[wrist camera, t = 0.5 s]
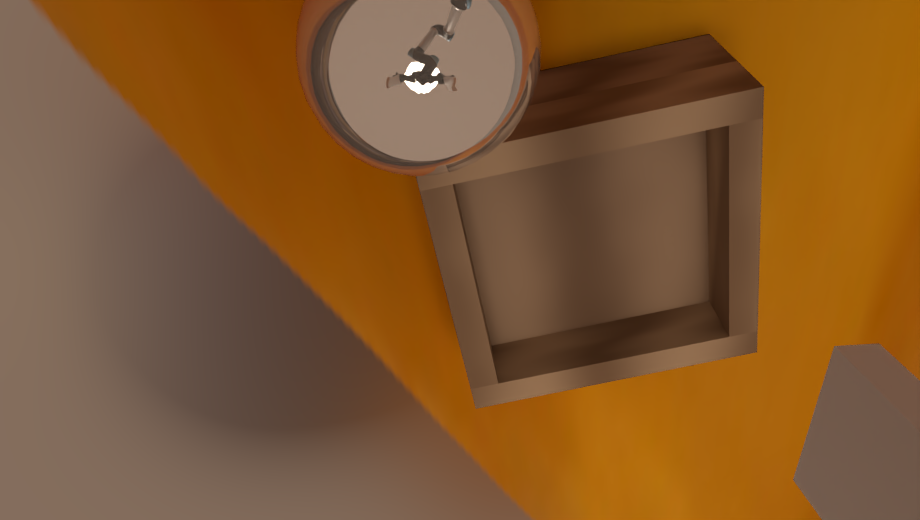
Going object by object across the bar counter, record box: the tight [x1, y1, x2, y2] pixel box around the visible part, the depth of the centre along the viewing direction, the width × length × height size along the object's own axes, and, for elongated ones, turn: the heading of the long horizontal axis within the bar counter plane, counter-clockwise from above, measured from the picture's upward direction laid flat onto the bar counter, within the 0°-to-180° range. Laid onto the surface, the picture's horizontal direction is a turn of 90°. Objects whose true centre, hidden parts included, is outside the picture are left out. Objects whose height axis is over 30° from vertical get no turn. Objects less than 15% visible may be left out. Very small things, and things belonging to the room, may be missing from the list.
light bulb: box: [296, 0, 541, 176], centre depth 25 cm, size 7×7×12 cm
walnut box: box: [416, 34, 764, 408], centre depth 34 cm, size 12×12×6 cm
